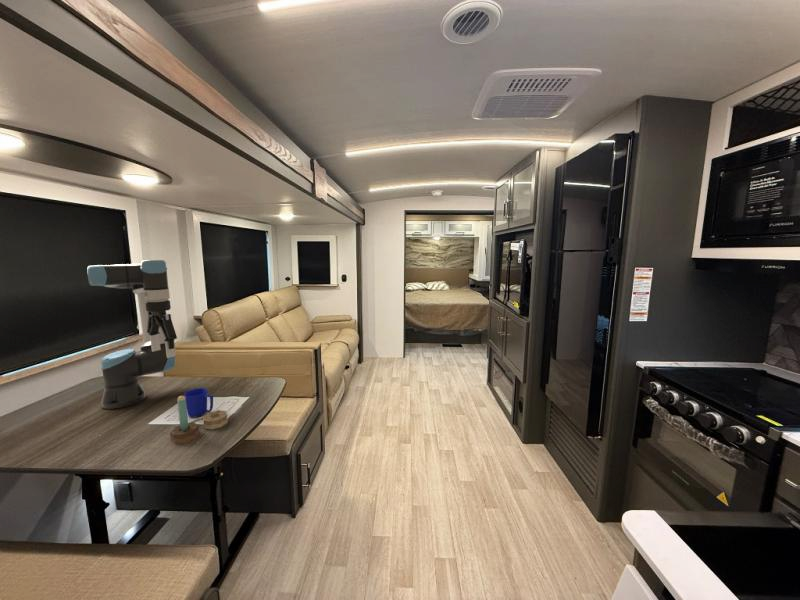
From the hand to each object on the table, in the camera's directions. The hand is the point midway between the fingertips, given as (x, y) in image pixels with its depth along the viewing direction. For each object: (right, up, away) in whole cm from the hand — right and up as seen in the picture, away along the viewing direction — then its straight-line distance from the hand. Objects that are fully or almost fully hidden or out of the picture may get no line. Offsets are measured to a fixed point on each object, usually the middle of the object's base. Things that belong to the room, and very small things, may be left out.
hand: (163, 353), depth 122 cm
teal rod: (+13, -30, -7) cm, 33 cm away
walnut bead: (+13, -30, -7) cm, 33 cm away
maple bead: (+19, -29, +3) cm, 34 cm away
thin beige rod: (+9, -28, +4) cm, 30 cm away
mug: (+9, -28, +10) cm, 31 cm away
